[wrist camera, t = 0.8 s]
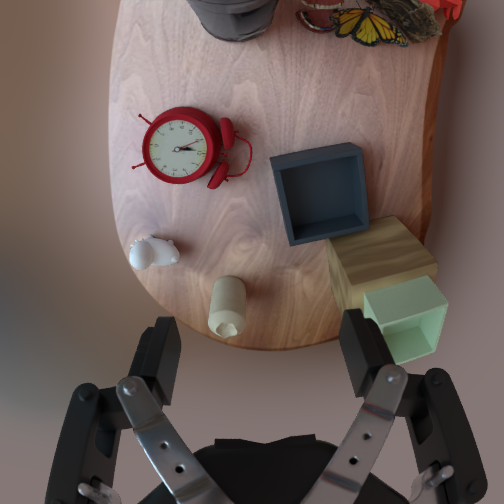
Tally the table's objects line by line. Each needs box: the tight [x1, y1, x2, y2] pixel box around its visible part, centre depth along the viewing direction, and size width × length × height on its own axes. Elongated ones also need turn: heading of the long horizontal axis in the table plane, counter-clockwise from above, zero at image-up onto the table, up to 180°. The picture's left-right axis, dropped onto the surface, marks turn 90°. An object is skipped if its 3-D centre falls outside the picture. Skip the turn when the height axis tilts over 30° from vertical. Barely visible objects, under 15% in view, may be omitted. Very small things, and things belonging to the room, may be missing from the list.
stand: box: [326, 215, 438, 317], centre depth 41 cm, size 12×12×14 cm
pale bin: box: [364, 275, 449, 365], centre depth 32 cm, size 9×9×6 cm
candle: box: [208, 276, 246, 338], centre depth 45 cm, size 6×6×10 cm
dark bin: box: [270, 142, 369, 247], centre depth 39 cm, size 12×12×5 cm
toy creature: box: [130, 235, 179, 270], centre depth 42 cm, size 5×8×6 cm, turn 75°
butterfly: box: [328, 1, 408, 47], centre depth 25 cm, size 12×9×5 cm
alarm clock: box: [132, 107, 252, 189], centre depth 35 cm, size 10×6×15 cm
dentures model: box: [296, 0, 344, 33], centre depth 25 cm, size 6×4×8 cm
